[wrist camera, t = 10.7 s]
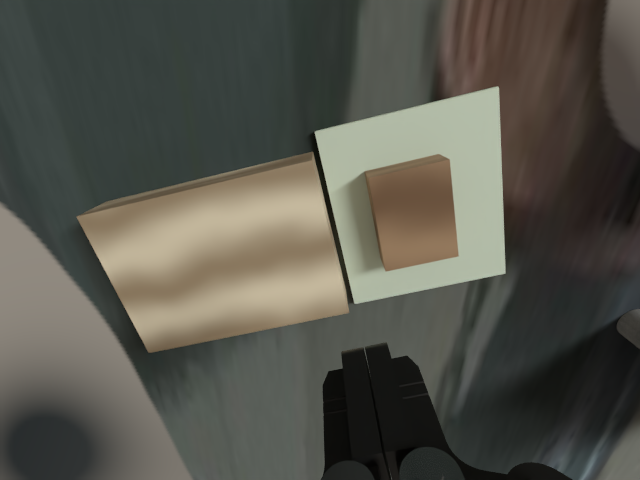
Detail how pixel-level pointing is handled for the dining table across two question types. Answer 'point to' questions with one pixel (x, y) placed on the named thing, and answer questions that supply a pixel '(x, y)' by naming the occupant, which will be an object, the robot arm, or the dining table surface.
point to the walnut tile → (413, 211)
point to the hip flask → (630, 326)
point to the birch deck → (221, 254)
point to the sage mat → (409, 144)
